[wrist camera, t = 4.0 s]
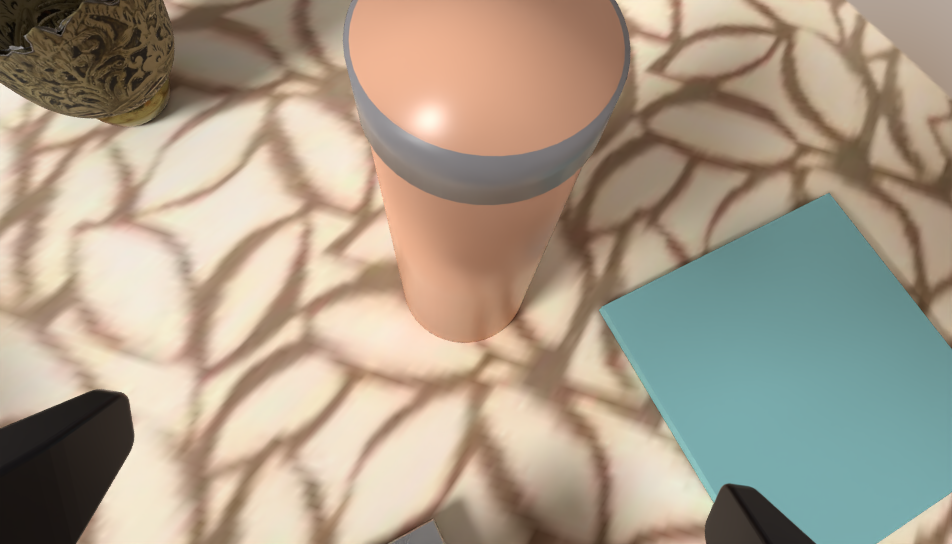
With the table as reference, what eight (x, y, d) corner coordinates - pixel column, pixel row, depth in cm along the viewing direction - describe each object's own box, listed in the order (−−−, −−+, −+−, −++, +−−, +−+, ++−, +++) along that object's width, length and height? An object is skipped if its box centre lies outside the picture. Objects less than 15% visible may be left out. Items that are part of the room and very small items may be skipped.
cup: (219, 29, 27) (134, -142, 20) (219, 161, 25) (120, 23, 17) (56, 41, 26) (-99, -132, 19) (39, 179, 24) (-147, 43, 16)
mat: (1010, 443, 22) (1024, 442, 22) (773, 603, 20) (783, 607, 19) (820, 198, 26) (829, 192, 25) (598, 310, 23) (602, 306, 23)
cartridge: (548, 311, 23) (685, 94, 10) (434, 367, 22) (418, 209, 9) (490, 208, 25) (542, -99, 11) (381, 256, 23) (299, -20, 10)
